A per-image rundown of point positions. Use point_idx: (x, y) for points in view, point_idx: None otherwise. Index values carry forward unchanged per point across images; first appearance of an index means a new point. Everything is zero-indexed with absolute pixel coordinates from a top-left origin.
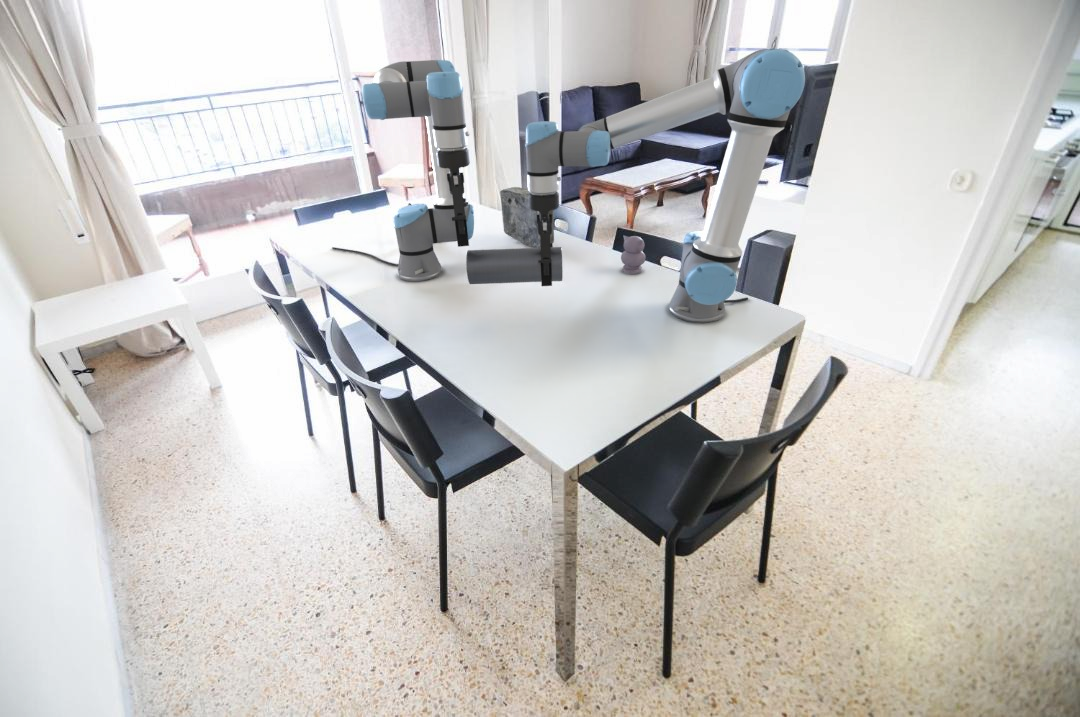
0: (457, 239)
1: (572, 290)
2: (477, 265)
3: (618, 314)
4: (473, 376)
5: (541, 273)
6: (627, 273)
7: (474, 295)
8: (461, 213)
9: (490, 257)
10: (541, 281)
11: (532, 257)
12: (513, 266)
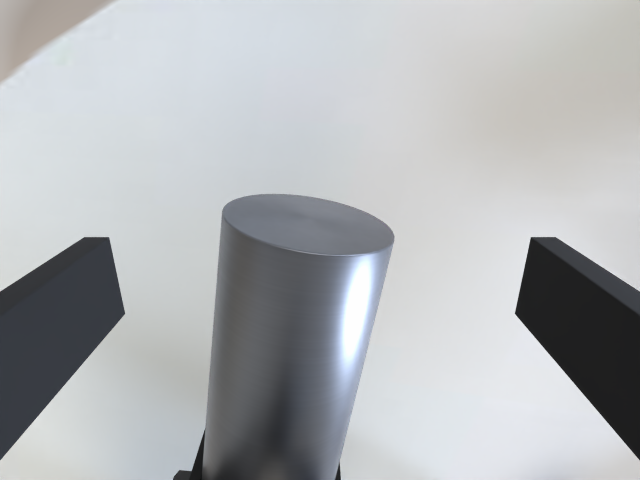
0: (45, 265)
1: (458, 419)
2: (221, 273)
3: None
4: (29, 137)
5: (193, 467)
6: None
7: (540, 167)
8: (606, 379)
9: (235, 353)
10: (201, 440)
11: None
12: (207, 409)
